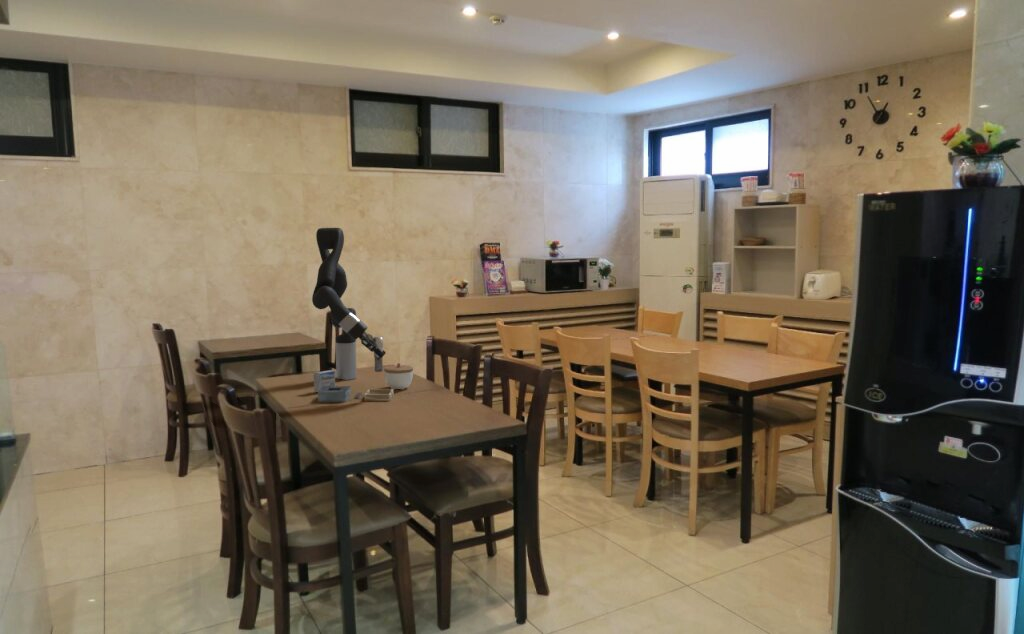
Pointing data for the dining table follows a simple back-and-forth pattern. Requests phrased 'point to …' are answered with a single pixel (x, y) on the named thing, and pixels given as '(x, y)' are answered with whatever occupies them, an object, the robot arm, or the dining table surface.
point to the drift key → (358, 395)
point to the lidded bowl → (398, 376)
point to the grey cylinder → (378, 360)
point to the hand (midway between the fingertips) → (383, 355)
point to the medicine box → (323, 379)
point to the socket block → (334, 394)
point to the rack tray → (379, 395)
